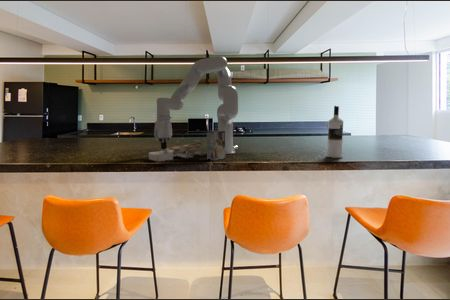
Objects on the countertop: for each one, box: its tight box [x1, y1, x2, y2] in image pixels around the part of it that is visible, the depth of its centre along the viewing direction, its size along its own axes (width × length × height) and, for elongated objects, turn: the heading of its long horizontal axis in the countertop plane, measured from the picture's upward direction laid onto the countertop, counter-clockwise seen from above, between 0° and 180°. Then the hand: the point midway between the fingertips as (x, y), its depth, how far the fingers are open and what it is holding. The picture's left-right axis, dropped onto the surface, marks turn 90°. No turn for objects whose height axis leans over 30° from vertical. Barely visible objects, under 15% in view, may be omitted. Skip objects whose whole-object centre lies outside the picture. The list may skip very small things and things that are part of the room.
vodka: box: [325, 105, 344, 159], centre depth 179 cm, size 9×9×30 cm
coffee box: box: [206, 130, 226, 161], centre depth 175 cm, size 9×6×16 cm
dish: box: [148, 150, 174, 163], centre depth 174 cm, size 10×10×4 cm
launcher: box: [160, 140, 203, 154], centre depth 187 cm, size 21×14×4 cm
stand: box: [164, 150, 203, 159], centre depth 187 cm, size 21×17×4 cm
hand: (163, 149), depth 185 cm, fingers closed
